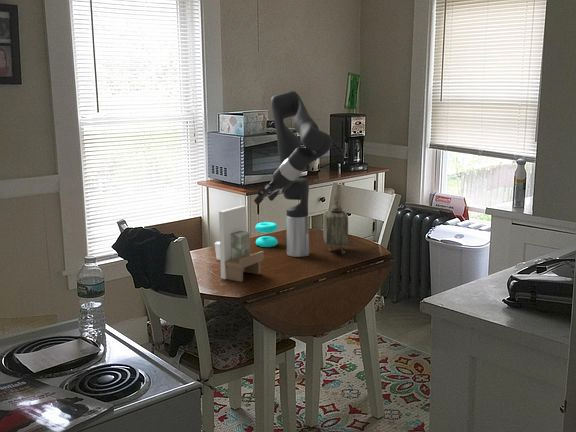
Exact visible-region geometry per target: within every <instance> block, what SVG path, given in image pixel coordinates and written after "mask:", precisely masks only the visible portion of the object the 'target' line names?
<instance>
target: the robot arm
mask: <svg viewBox="0 0 576 432" xmlns="http://www.w3.org/2000/svg"><path fill="white" fill-rule="evenodd" d="M270 107H271V112H272V117H273V121H274V126H275V130H276V131H275V132H276V140H277V151H278V157H279V162H280V165H279V166H278V168H277V169H275V171H274V172H273V174H272V178H273V180H271V181H270V182H269V183H268V182H265V183H264V184H263V186H261V188H260V189H259V190H258V191H257V192H256V194H257V195H256V198H254V200H253V202H254V203H255V204H256V206H257V205H260V204H261V203H262V201H264V199H266V198H268V199H269V201H270V202H272V201H274V200H275V199H276V198H277V196H279V195H281V194H283V197H284V199H285V200H289V201H290V200H293V201H299V203H297V204H295V205H293V206H290V207H288V208H287V209H286V255H287V256H289V257H293V258H296V257H297V258H299V257H307V256H308V257H309V256H310V234H309V193H310V191H309V190H310V189H309V188H310V186H309V185H310V184H309V180H308V179H307V178H305V177H300V176H301V175H302V173H303V172H304V171H305V170H306V169H307V167H308V166H309V165H310V164H311V163H313V162H315V161H316V160H318V159H320V158H321V157H323V156H324V155H326V154H327V153H328V152H329V151H330V149H331V148H332V146H333V139H332V136H331V135H330V134H328V133H326V132H324V131H322V130H320V128H319V126H318V124H317V123H316V122H315V120H314V119H313V118H312V117H311V115H310V113H309V112H308V110H307V108H306V106H305V104H304V102H303V100H302V98H301V96H300V94H299V93H298V92H296V91H294V90H290V91H287V92H283V93H279V94H275V95H273V96H272V97H271V99H270ZM291 117H294V119H293V127H294V130H295V131H296V132H297V134H298V135H299V137H298V136H297V135H296V134H295V132H293V131H292V130H291V129H290V127H288V126H287V125H286V124H285V122H284V119H288V118H291ZM303 146H304V147H303Z"/></svg>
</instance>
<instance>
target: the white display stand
mask: <svg viewBox="0 0 576 432" xmlns="http://www.w3.org/2000/svg"><path fill="white" fill-rule="evenodd" d="M218 220H219V221H218V222H219V223H218V224H219V229H218V230H219V241H220V260H219V263H220V279H222V280H230V281H235V282H240V283H241V282H243V281H244V273H249V274H253V275H254V274H255V275H260V274H261V262H262V261H264V260H265V256H264V255H265V251H264V250H261V251H258V252H254V253H250V255H249V256H246V257H244V258H241V259H239V260H234V259H232V246H231V233H235V232H238V231H245V232H248V228H247V227H248V226H247V223H248V221H247V205H238V206H235V207H231V208H227V209H223V210H218Z"/></svg>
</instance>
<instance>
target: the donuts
mask: <svg viewBox="0 0 576 432" xmlns="http://www.w3.org/2000/svg"><path fill="white" fill-rule="evenodd" d="M277 229H278V225H277V223H275V222H270V221H264V222H258V223H256V225H255V230H256V231H257V232H259V233H262V234H263V233H264V234H270V233H271V234H272V233H273V232H275V231H277ZM255 244H256V246H257V247H259V248H271V247H275V246H277V245H278V239H277V238H276V237H274V236H271V235H270V236H269V235H266V236H260V237H258V238H256V240H255Z"/></svg>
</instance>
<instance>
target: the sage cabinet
mask: <svg viewBox="0 0 576 432" xmlns="http://www.w3.org/2000/svg"><path fill="white" fill-rule="evenodd" d="M231 246H232V259H234V260H239V259H241V258H244V257H246V256H249V255H250V254H251V235H250V231H247V232H245V231H238V232H235V233H231Z"/></svg>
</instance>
